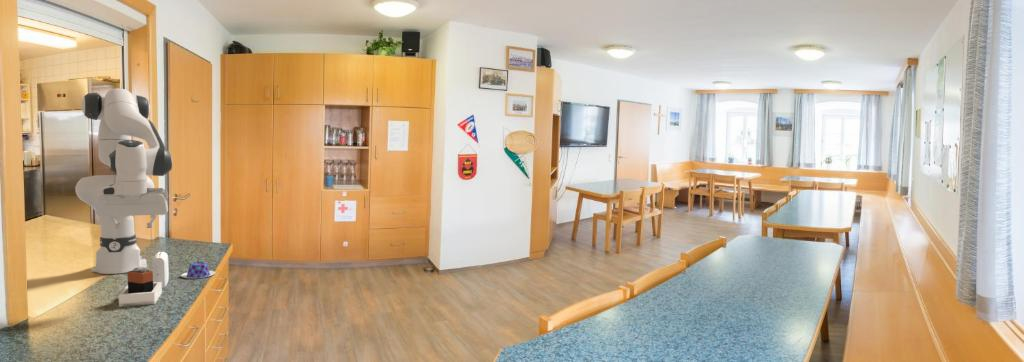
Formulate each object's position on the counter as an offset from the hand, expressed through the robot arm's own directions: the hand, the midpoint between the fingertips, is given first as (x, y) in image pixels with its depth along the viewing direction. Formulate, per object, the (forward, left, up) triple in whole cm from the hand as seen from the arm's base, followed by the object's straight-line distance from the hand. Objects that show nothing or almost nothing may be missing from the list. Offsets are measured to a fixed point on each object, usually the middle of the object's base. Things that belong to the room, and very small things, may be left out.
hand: (133, 228), depth 187 cm
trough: (+3, +2, -25) cm, 25 cm away
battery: (+3, +2, -24) cm, 24 cm away
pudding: (-25, +16, -25) cm, 39 cm away
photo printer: (-15, +5, -25) cm, 29 cm away
